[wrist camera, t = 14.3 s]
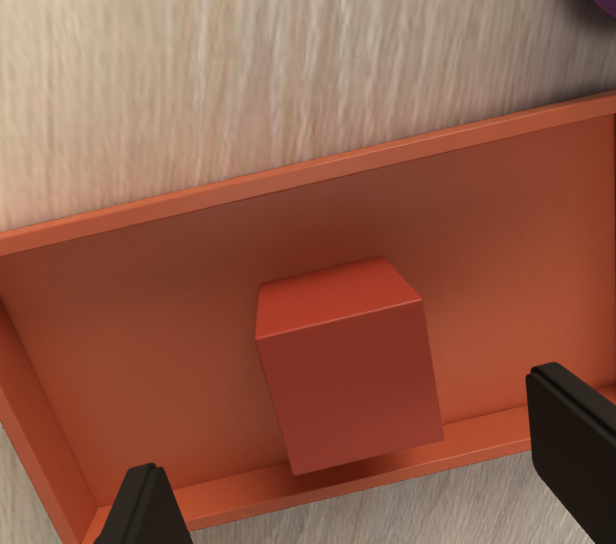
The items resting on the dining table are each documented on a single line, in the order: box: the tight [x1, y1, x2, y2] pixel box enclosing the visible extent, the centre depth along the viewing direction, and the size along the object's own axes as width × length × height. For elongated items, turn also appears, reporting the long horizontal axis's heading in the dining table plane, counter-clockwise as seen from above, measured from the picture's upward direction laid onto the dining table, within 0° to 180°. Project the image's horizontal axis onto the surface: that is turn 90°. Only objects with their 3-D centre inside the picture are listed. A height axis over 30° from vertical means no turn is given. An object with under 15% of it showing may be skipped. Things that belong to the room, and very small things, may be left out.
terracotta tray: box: [0, 89, 616, 544], centre depth 17 cm, size 25×13×3 cm, turn 103°
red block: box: [254, 256, 444, 476], centre depth 16 cm, size 5×5×5 cm
